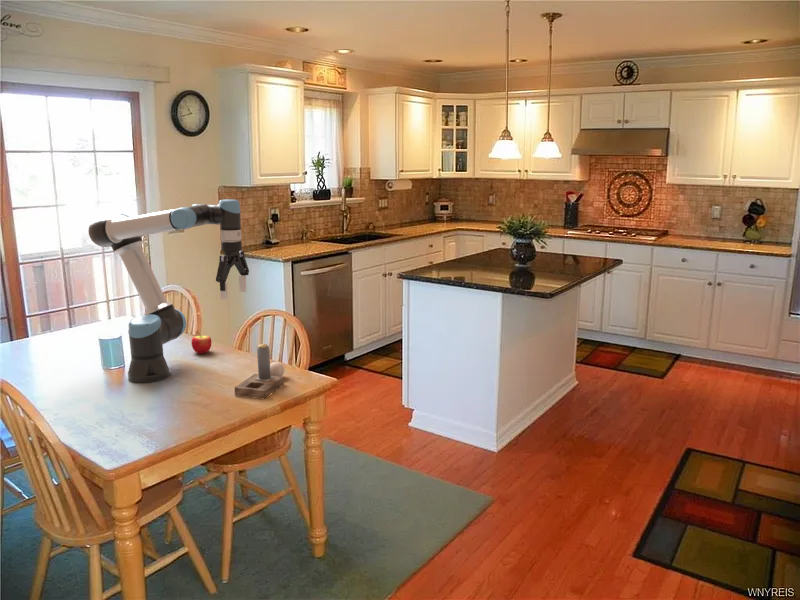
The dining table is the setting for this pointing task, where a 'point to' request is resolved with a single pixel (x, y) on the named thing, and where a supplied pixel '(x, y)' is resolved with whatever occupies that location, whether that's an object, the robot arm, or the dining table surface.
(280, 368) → the light bulb
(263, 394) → the wooden socket board
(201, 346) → the apple
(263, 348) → the plug
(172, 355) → the dining table surface
